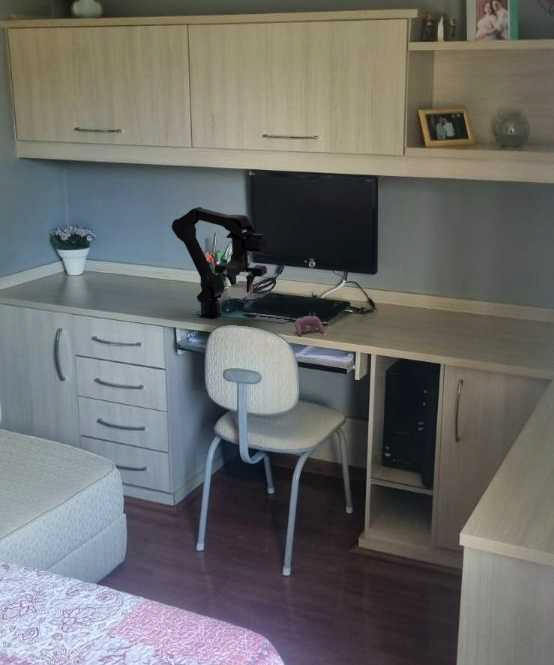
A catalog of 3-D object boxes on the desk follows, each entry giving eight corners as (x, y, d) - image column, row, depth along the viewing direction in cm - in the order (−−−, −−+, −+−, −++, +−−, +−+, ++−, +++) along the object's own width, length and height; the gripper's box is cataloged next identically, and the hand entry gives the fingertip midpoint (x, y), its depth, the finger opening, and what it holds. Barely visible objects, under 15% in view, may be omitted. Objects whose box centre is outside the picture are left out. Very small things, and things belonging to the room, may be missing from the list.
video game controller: (321, 334, 314) (318, 315, 315) (325, 332, 310) (322, 313, 311) (295, 338, 311) (292, 318, 312) (299, 335, 307) (295, 316, 308)
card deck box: (230, 297, 320) (229, 286, 319) (240, 291, 328) (239, 280, 327) (242, 298, 318) (242, 288, 317) (252, 292, 326) (252, 281, 325)
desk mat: (252, 320, 327) (252, 318, 327) (265, 311, 337) (265, 310, 336) (284, 323, 322) (284, 322, 322) (296, 315, 331) (296, 314, 331)
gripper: (206, 253, 314) (209, 296, 319) (254, 257, 308) (256, 300, 313) (220, 247, 324) (222, 288, 329) (267, 250, 317) (268, 292, 322)
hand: (241, 292), depth 323 cm, fingers closed on card deck box, 5 cm apart
